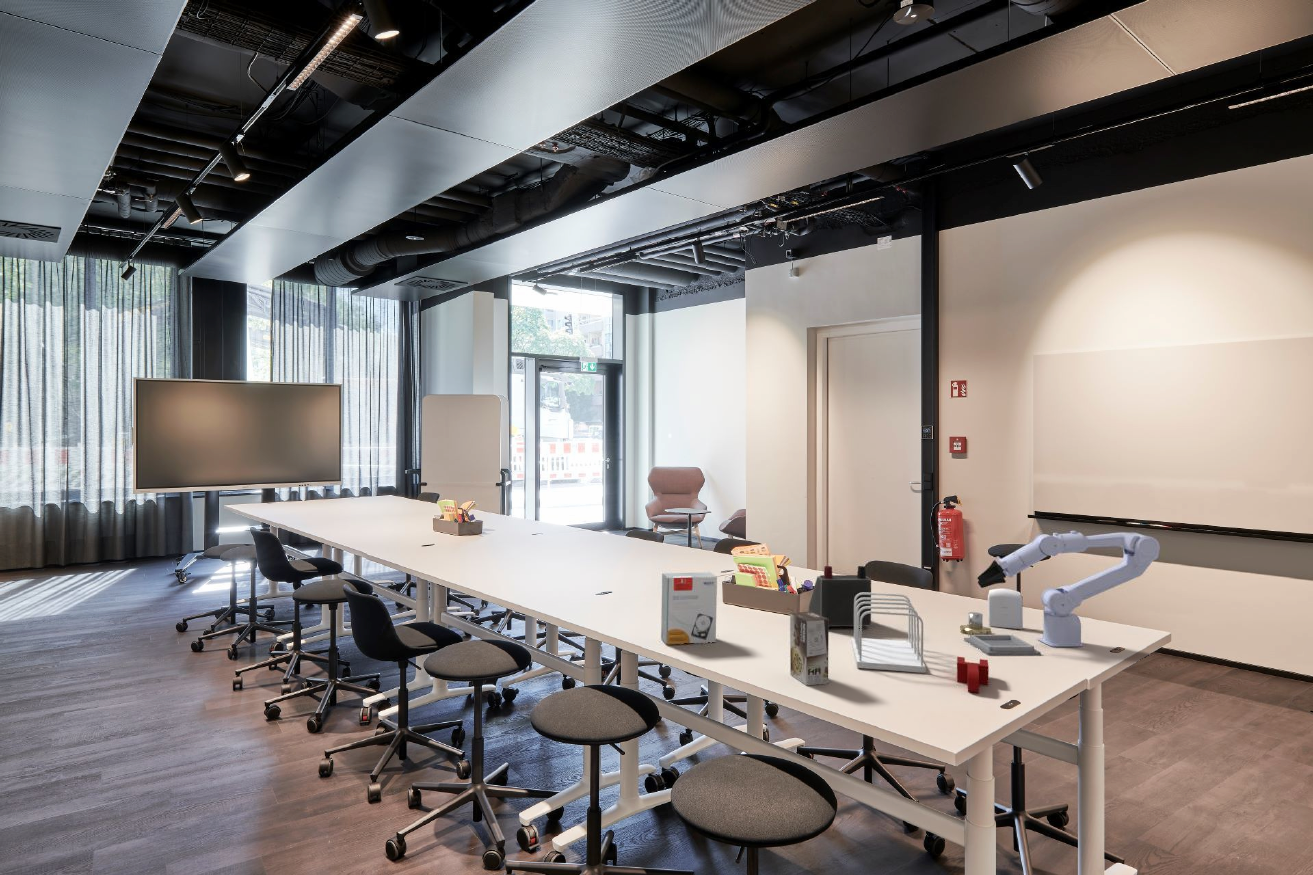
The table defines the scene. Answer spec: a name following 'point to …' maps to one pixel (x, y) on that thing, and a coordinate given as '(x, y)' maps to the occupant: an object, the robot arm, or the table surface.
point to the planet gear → (975, 625)
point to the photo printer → (1005, 608)
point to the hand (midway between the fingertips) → (979, 583)
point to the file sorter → (887, 651)
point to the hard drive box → (688, 608)
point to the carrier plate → (1001, 645)
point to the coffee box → (809, 647)
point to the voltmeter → (841, 597)
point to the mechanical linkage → (972, 673)
